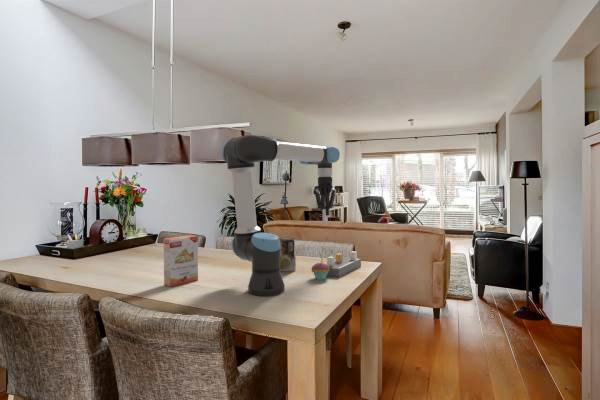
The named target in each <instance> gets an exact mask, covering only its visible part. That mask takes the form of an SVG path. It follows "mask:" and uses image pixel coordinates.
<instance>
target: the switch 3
mask: <svg viewBox="0 0 600 400" xmlns="http://www.w3.org/2000/svg"><path fill="white" fill-rule="evenodd" d="M349 253H350V254H349V258H350V260H356V259H357V258H358V251H353V250H352V251H350V252H349Z"/></svg>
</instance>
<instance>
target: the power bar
mask: <svg viewBox="0 0 600 400" xmlns="http://www.w3.org/2000/svg"><path fill="white" fill-rule="evenodd" d="M329 267H330V268H329V269H330V270H329V272H328V273H327V275H326V277H327V276H328V277H334V278H341V277H343V276H345V275H347V274H349V273H351V272H352V271H354V270H356V269H358V268H360V267H362V259H361V258H358V257H357V259H356V260H350V256H349V257H348V256H344V257H343V262H340V263H339V262H336V260H334V265H333V266H329Z"/></svg>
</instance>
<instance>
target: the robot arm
mask: <svg viewBox="0 0 600 400" xmlns="http://www.w3.org/2000/svg"><path fill="white" fill-rule="evenodd" d="M340 154H341V153H340V149H339V148H337V146H328V145H323V146H321V145H314V144H303V143H302V144H301V143H295V142H288V141H287V142H286V141H279V140H276V138H274V137H267V136H261V135H255V134H245V135H242V136H235V137H232V138H230V139H228V140H226V142H225V143H224V144H223V145H222V148H221V156H222V159H223V160H224V163H226V164H227V166H226V167H227V170H228V172H230V173H231V177H232V186H233V195H234V207H235V216H236V217H235V218H236V222H237V223H236V226H237V227H236V229H234V236H233V239H232V241H231V249H232V252H233V254H234V255H235V256H236V257H237V258H240V260H244V261H248V262H251V269H252V270H251V276H250V279H249V283H248V285H247V292H248V293H249V294H250V295H253V296H259V297H270V296H271V297H272V296H277V295H281V294H282V293H284V292H285V289H286V288H285V287H286V286H285V283H284V280H283V276H282V273H281V271H280V239H279V238H280V237H279V236H278V235H276V234H275V233H271V232H269V233H268V232H262V229H261V227H260V226H258V224H257V214H256V213H257V212H256V202H255V191H254V184H253V183H254V181H253V170H254V169H255V167H256V166H255V163H260V162H274V160H280V161H294V162H296V161H297V162H299V163H300V164H301V165H306V166H307V165H310V166H311V165H315V166H317V176H318V177H317V188H316V189H313V193H314V195H315V200H316V205H317V208H318V209H320V210H321V212H320V215H321V216H322V223H328V221H329V216H330V209H333V207H334V202H335V196H336V194H337V192H338V189H335V188H334V187H333V177H332V176H333V163H336V162H338V161H339V159H340V158H341V156H340Z"/></svg>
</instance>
